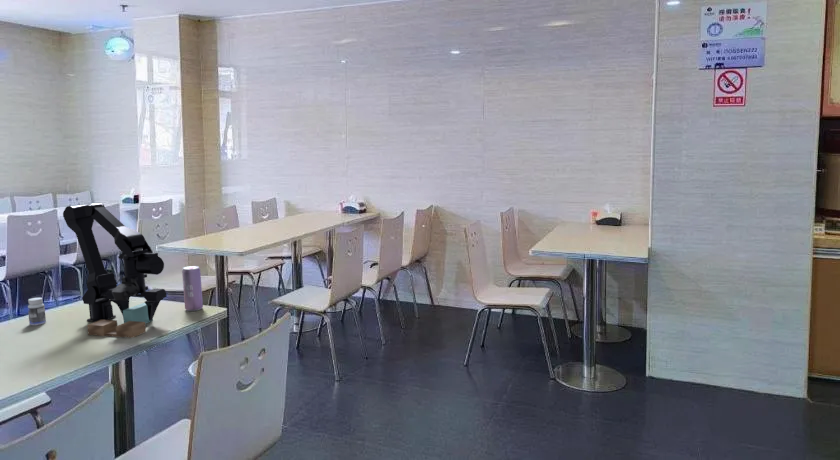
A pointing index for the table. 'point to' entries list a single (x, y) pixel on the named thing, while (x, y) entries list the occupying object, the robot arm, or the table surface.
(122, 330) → the slotted block
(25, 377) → the table surface
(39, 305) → the pill bottle
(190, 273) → the beverage can
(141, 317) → the teal upright brick
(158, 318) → the table surface
